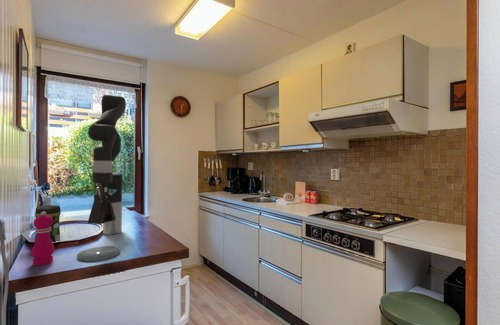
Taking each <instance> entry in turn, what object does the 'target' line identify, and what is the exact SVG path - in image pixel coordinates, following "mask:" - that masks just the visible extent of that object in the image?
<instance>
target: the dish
mask: <svg viewBox="0 0 500 325" xmlns="http://www.w3.org/2000/svg"><path fill="white" fill-rule="evenodd" d="M120 254H121V248H120V247H118V246H115V245H114V246H111V245H109V246H107V245H104V246H103V245H102V246H96V247H90V248H88V249H83V250H82V251H79V252H78V253H77V254H76V259H77V261H79V262H83V263H84V262H85V263H89V262H91V263H93V262H94V263H95V262H102V261H107V260H109V259H110V258H111V259H114V258H115V257H117V255H118V256H119V255H120ZM106 259H107V260H106ZM111 259H110V260H111Z"/></svg>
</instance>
